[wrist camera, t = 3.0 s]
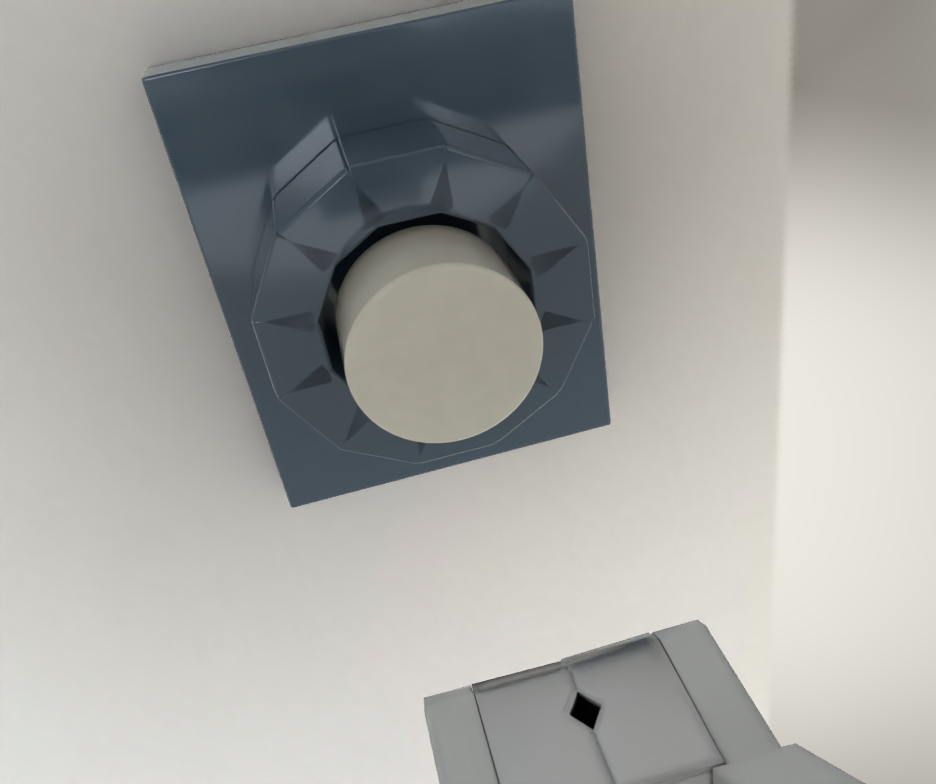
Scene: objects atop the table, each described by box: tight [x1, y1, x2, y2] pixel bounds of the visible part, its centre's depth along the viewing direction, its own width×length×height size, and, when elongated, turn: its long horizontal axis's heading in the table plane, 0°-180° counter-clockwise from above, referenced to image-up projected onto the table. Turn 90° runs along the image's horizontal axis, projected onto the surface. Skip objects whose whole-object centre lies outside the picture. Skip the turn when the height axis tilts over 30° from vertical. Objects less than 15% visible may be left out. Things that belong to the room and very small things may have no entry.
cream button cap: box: [335, 225, 544, 443], centre depth 16 cm, size 4×4×2 cm
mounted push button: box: [142, 0, 611, 507], centre depth 18 cm, size 10×8×3 cm
